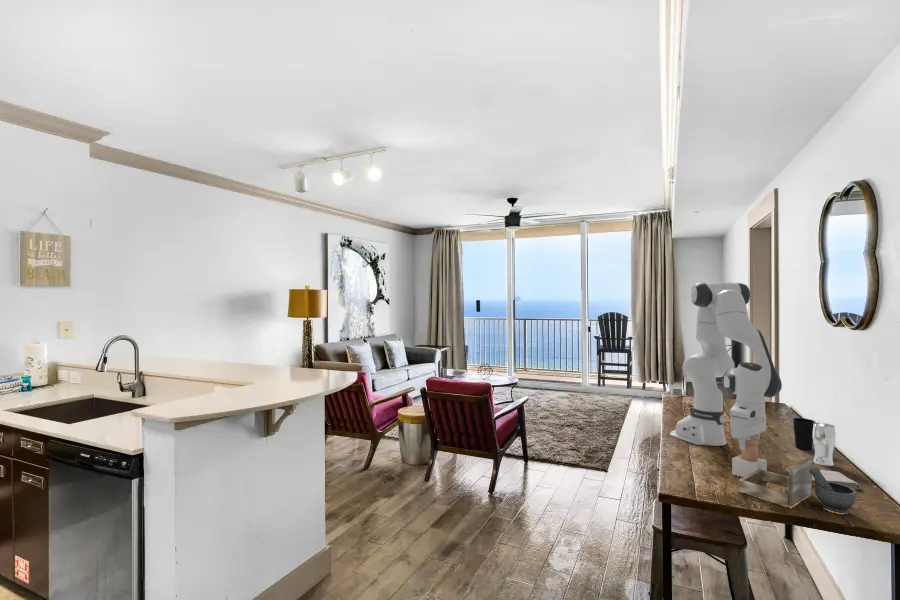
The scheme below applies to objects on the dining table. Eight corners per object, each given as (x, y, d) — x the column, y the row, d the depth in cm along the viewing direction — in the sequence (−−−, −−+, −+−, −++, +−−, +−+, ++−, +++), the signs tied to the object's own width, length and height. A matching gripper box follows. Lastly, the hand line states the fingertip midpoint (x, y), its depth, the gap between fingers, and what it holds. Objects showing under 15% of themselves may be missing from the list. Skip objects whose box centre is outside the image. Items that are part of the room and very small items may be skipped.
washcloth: (783, 473, 170) (783, 464, 170) (840, 477, 166) (840, 469, 166) (799, 485, 159) (799, 476, 159) (861, 491, 154) (861, 482, 154)
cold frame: (737, 492, 152) (738, 453, 152) (759, 480, 162) (760, 443, 162) (791, 509, 140) (792, 467, 140) (811, 495, 150) (812, 456, 150)
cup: (819, 452, 192) (819, 423, 192) (798, 450, 193) (798, 422, 193) (808, 446, 199) (809, 418, 199) (788, 444, 201) (789, 417, 201)
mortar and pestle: (852, 508, 141) (853, 469, 141) (859, 521, 133) (860, 479, 133) (806, 499, 147) (807, 461, 147) (810, 511, 139) (811, 471, 139)
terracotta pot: (737, 458, 167) (737, 438, 167) (744, 455, 170) (744, 436, 170) (754, 463, 162) (755, 443, 162) (761, 459, 165) (761, 440, 165)
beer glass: (826, 467, 174) (826, 427, 174) (807, 461, 181) (808, 423, 181) (839, 465, 176) (840, 426, 176) (820, 459, 183) (821, 421, 183)
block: (732, 474, 167) (732, 458, 167) (742, 469, 172) (742, 453, 172) (756, 481, 160) (757, 464, 160) (766, 476, 165) (766, 460, 165)
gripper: (752, 403, 174) (752, 439, 175) (727, 410, 163) (726, 449, 163) (772, 406, 169) (771, 444, 170) (747, 414, 157) (746, 455, 158)
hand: (748, 447), depth 166 cm, fingers open, 8 cm apart
